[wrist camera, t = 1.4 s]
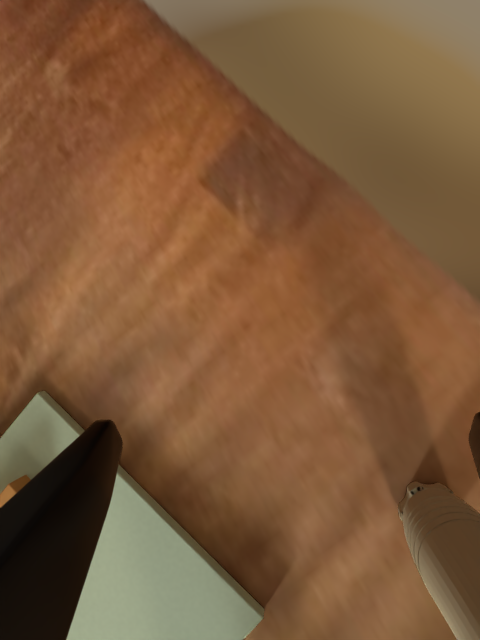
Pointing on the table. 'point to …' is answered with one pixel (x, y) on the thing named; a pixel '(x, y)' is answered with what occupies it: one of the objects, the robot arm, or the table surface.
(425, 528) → the handle
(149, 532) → the mat
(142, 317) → the table surface
